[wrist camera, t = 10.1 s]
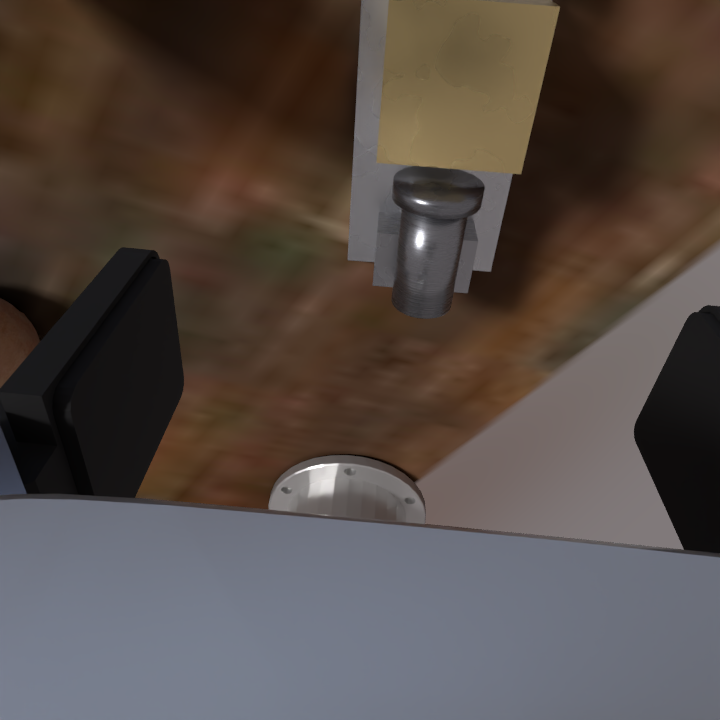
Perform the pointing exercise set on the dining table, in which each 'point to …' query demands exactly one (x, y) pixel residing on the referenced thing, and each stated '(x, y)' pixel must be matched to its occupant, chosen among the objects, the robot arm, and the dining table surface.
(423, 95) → the tan wooden cube
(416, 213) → the shaft bench
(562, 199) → the dining table surface
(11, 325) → the onion
